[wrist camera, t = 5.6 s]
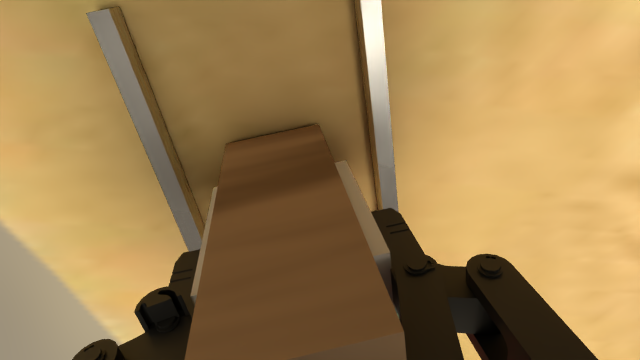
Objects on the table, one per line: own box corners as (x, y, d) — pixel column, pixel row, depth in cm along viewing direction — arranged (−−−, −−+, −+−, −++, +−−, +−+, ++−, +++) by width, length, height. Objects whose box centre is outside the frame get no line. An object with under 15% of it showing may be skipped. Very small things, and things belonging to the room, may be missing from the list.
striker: (226, 143, 18) (179, 385, 7) (318, 124, 18) (403, 331, 7) (253, 229, 20) (247, 503, 10) (334, 211, 20) (415, 461, 10)
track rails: (98, 10, 15) (86, 13, 14) (369, -43, 15) (377, -44, 14) (233, 335, 24) (232, 352, 23) (400, 296, 24) (406, 311, 23)
